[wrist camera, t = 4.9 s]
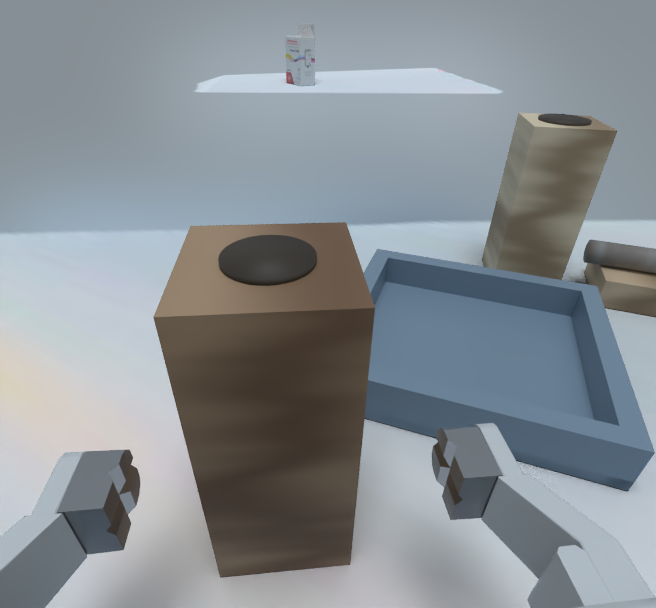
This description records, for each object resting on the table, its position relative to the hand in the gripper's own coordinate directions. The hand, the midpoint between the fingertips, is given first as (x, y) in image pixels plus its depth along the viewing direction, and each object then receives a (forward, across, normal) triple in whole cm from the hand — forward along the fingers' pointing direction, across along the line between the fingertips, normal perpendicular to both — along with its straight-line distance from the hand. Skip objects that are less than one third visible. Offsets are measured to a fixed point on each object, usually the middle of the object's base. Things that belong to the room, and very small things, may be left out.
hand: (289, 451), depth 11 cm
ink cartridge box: (+130, +6, -6) cm, 131 cm away
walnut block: (+2, 0, -6) cm, 7 cm away
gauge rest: (+15, +26, -6) cm, 31 cm away
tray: (+10, +10, -6) cm, 16 cm away
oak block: (+19, +18, -6) cm, 27 cm away
